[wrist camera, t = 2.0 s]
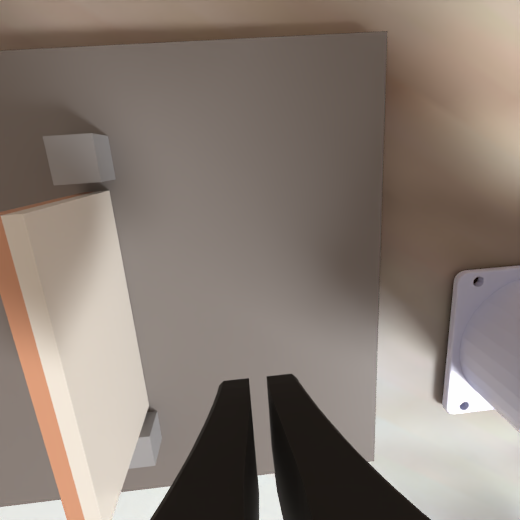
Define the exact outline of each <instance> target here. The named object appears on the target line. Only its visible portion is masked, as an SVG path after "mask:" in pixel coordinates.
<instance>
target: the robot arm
mask: <svg viewBox="0 0 520 520" xmlns="http://www.w3.org/2000/svg"><path fill="white" fill-rule="evenodd" d="M476 277H478V281H477V282H476V283H475V284H473V281H474V279H475V278H476ZM267 390H268V404H269V418H270V433H271V446H272V454H273V462H274V470H275V478H276V486H277V492H278V497H279V502H280V506H281V511H282V515H283V520H431V519H429V518H428V517H427V516H426V515H425V514H423V513H422V512H421V511H420V510H419V509H418V508H416V507H415V506H414V505H413V504H412V503H411V502H410V501H409V500H407V499H406V498H405V497H404V496H403V495H402V494H401V493H399V492H398V491H397V490H396V489H395V488H394V487H393V486H392V485H391V484H390V483H389V482H388V481H387V480H385V479H384V478H383V477H382V476H381V475H380V474H379V473H378V472H377V471H376V470H375V469H374V468H373V467H372V466H371V465H370V464H369V463H368V462H367V461H366V460H365V459H364V458H363V457H362V456H361V455H360V454H359V453H358V452H357V451H356V450H355V449H354V447H353V446H352V445H351V444H350V443H349V442H348V441H347V440H346V439H345V438H344V437H343V436H342V434H341V433H340V432H339V431H338V430H337V429H336V428H335V426H334V425H333V424H332V423H331V422H330V421H329V420H328V419H327V417H326V416H325V415H324V414H323V412H322V411H321V410H320V409H319V408H318V406H317V405H316V404H315V402H314V401H313V400H312V399H311V397H310V396H309V395H308V393H307V392H306V391H305V389H304V388H303V386H302V385H301V384H300V382H299V381H298V379H297V377H295V376H294V375H293V374H283V375H274V376H267ZM462 402H464V403H462ZM461 403H462V404H461ZM460 404H461V405H460ZM442 405H443V408H444V409H445V410H446V411H447V412H448V413H450V414H459V413H468V412H476V411H485V410H494V409H495V410H496V411H497V412H498V413H500V414H501V415H502V416H503V417H504V418H505V419H506V420H507V421H508V422H509V423H510V424H511V425H512V426H513V427H514V428H515V429H516V430H517V431H518V432H520V265H518V266H507V267H497V268H486V269H475V270H465V271H461V272H460V273H458V274H457V275H456V277H455V279H454V285H453V296H452V306H451V317H450V327H449V338H448V348H447V359H446V370H445V380H444V391H443V401H442ZM150 520H259V488H258V477H257V465H256V453H255V442H254V430H253V419H252V408H251V396H250V385H249V378H246V379H237V380H227V381H223V382H222V383H221V384H220V385H219V388H218V391H217V394H216V397H215V400H214V402H213V405H212V407H211V410H210V412H209V414H208V417H207V419H206V421H205V423H204V425H203V427H202V430H201V432H200V434H199V436H198V438H197V440H196V442H195V444H194V446H193V448H192V450H191V452H190V454H189V455H188V457H187V459H186V461H185V463H184V464H183V466H182V468H181V470H180V471H179V473H178V475H177V477H176V478H175V480H174V482H173V484H172V485H171V487H170V489H169V491H168V492H167V494H166V495H165V497H164V499H163V500H162V502H161V503H160V505H159V507H158V508H157V510H156V511H155V513H154V515H153V516H152V518H151V519H150Z"/></svg>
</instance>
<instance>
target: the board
mask: <svg viewBox="0 0 520 520" xmlns="http://www.w3.org/2000/svg"><path fill="white" fill-rule="evenodd" d="M386 57H387V31H382V32H362V33H342V34H323V35H303V36H283V37H263V38H243V39H223V40H203V41H183V42H163V43H143V44H123V45H103V46H83V47H63V48H43V49H23V50H3V51H0V212H2V211H7V210H11V209H15V208H19V207H23V206H28V205H32V204H36V203H40V202H45V201H49V200H53V199H57V198H61V197H66V196H70V195H74V194H78V193H82V192H95V191H108V190H109V191H110V197H111V202H112V207H113V213H114V218H115V224H116V229H117V234H118V240H119V245H120V251H121V256H122V261H123V267H124V272H125V278H126V283H127V288H128V294H129V299H130V305H131V310H132V315H133V321H134V326H135V332H136V337H137V342H138V348H139V353H140V359H141V364H142V369H143V375H144V380H145V386H146V391H147V396H148V402H149V407H148V410H147V413H146V417H145V420H144V423H143V426H142V429H141V432H140V435H139V438H138V441H137V444H136V447H135V450H134V453H133V456H132V459H131V462H130V465H129V469H128V472H127V475H126V478H125V481H124V484H123V487H122V490H121V492H125V491H133V490H142V489H150V488H158V487H166V486H171V485H172V484H173V482H174V480H175V478H176V477H177V475H178V473H179V471H180V470H181V468H182V466H183V464H184V463H185V461H186V459H187V457H188V455H189V454H190V452H191V450H192V448H193V446H194V444H195V442H196V440H197V438H198V436H199V434H200V432H201V430H202V427H203V425H204V423H205V421H206V419H207V417H208V414H209V412H210V410H211V407H212V405H213V402H214V400H215V397H216V394H217V391H218V388H219V385H220V384H221V383H222V382H223V381H227V380H237V379H246V378H249V385H250V396H251V408H252V419H253V430H254V442H255V453H256V465H257V475H264V474H272V473H275V470H274V462H273V454H272V446H271V433H270V418H269V404H268V390H267V376H274V375H283V374H293V375H294V376H295V377H297V379H298V381H299V382H300V384H301V385H302V386H303V388H304V389H305V391H306V392H307V393H308V395H309V396H310V397H311V399H312V400H313V401H314V402H315V404H316V405H317V406H318V408H319V409H320V410H321V411H322V412H323V414H324V415H325V416H326V417H327V419H328V420H329V421H330V422H331V423H332V424H333V425H334V426H335V428H336V429H337V430H338V431H339V432H340V433H341V434H342V436H343V437H344V438H345V439H346V440H347V441H348V442H349V443H350V444H351V445H352V446H353V447H354V449H355V450H356V451H357V452H358V453H359V454H360V455H361V456H362V457H363V458H364V459H365V460H366V461H367V462H369V461H374V444H375V412H376V380H377V348H378V315H379V283H380V251H381V219H382V186H383V154H384V122H385V90H386ZM60 499H61V497H60V494H59V491H58V487H57V484H56V481H55V477H54V474H53V470H52V467H51V464H50V460H49V457H48V454H47V450H46V447H45V443H44V440H43V437H42V433H41V430H40V426H39V423H38V420H37V416H36V413H35V410H34V406H33V403H32V399H31V396H30V393H29V389H28V386H27V383H26V379H25V376H24V372H23V369H22V366H21V362H20V359H19V355H18V352H17V349H16V345H15V342H14V339H13V335H12V332H11V328H10V325H9V322H8V318H7V315H6V312H5V308H4V305H3V301H2V298H1V295H0V507H3V506H11V505H20V504H28V503H36V502H44V501H52V500H60Z"/></svg>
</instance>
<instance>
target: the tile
mask: <svg viewBox="0 0 520 520" xmlns="http://www.w3.org/2000/svg"><path fill="white" fill-rule="evenodd" d="M0 295H1V298H2V301H3V305H4V308H5V312H6V315H7V318H8V322H9V325H10V328H11V332H12V335H13V339H14V342H15V345H16V349H17V352H18V355H19V359H20V362H21V366H22V369H23V372H24V376H25V379H26V383H27V386H28V389H29V393H30V396H31V399H32V403H33V406H34V410H35V413H36V416H37V420H38V423H39V426H40V430H41V433H42V437H43V440H44V443H45V447H46V450H47V454H48V457H49V460H50V464H51V467H52V470H53V474H54V477H55V481H56V484H57V487H58V491H59V494H60V497H61V501H62V504H63V508H64V511H65V514H66V518H67V520H112V517H113V514H114V511H115V508H116V505H117V502H118V499H119V496H120V493H121V490H122V487H123V484H124V481H125V478H126V475H127V472H128V469H129V465H130V462H131V459H132V456H133V453H134V450H135V447H136V444H137V441H138V438H139V435H140V432H141V429H142V426H143V423H144V420H145V417H146V413H147V410H148V407H149V402H148V396H147V391H146V386H145V380H144V375H143V369H142V364H141V359H140V353H139V348H138V342H137V337H136V332H135V326H134V321H133V315H132V310H131V305H130V299H129V294H128V288H127V283H126V278H125V272H124V267H123V261H122V256H121V251H120V245H119V240H118V234H117V229H116V224H115V218H114V213H113V207H112V202H111V197H110V191H109V190H108V191H95V192H82V193H78V194H74V195H70V196H66V197H61V198H57V199H53V200H49V201H45V202H40V203H36V204H32V205H28V206H23V207H19V208H15V209H11V210H7V211H2V212H0Z"/></svg>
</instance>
